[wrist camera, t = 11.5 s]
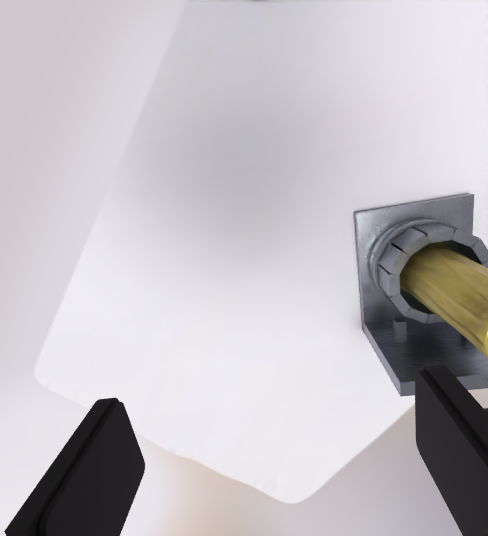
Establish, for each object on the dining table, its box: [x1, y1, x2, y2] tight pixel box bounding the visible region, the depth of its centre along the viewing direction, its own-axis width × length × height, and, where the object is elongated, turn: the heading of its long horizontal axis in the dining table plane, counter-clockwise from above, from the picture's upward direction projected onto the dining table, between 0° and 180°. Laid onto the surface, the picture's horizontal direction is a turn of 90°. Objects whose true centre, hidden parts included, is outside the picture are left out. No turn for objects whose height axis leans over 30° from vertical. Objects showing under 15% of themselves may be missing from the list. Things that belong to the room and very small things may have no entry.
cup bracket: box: [354, 194, 488, 396], centre depth 31 cm, size 15×12×12 cm
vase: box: [399, 242, 488, 358], centre depth 27 cm, size 6×6×14 cm
